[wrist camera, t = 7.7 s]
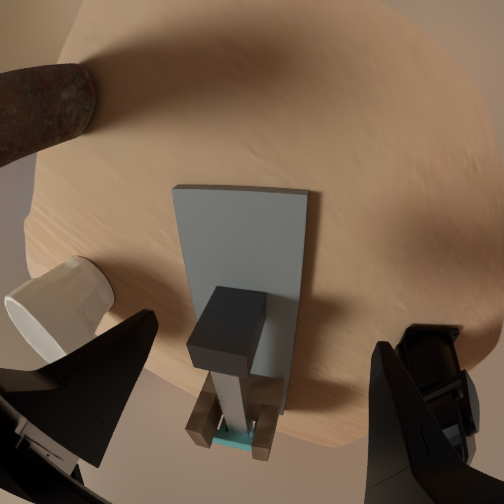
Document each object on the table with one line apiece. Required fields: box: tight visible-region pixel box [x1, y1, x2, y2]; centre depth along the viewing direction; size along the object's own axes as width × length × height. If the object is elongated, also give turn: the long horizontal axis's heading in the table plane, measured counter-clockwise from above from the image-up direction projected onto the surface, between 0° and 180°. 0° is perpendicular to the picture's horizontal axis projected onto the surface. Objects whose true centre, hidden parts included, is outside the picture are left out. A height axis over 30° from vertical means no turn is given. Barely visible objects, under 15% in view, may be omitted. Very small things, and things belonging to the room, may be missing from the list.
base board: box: [172, 185, 308, 415], centre depth 28 cm, size 10×33×1 cm, turn 2°
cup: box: [5, 256, 114, 364], centre depth 27 cm, size 12×12×11 cm
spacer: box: [212, 417, 258, 451], centre depth 31 cm, size 8×3×5 cm, turn 92°
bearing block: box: [185, 371, 285, 461], centre depth 29 cm, size 9×6×10 cm, turn 92°
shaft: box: [186, 286, 266, 437], centre depth 27 cm, size 4×23×7 cm, turn 2°
